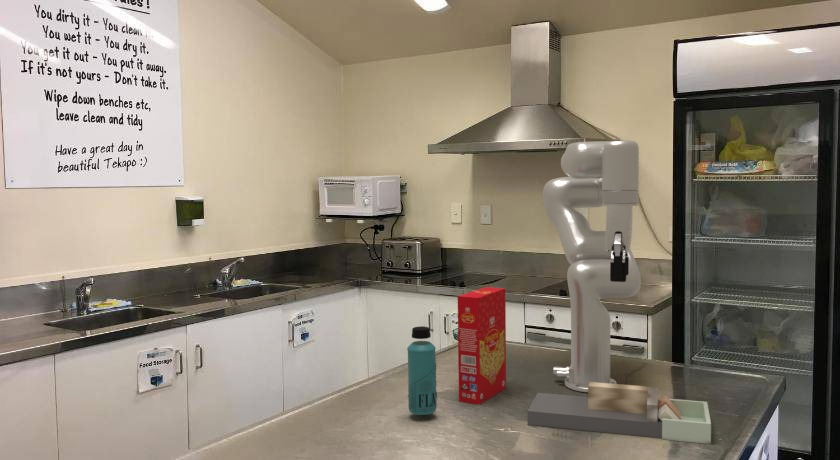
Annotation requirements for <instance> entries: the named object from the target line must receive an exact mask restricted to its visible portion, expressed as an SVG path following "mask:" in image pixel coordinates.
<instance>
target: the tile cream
mask: <svg viewBox="0 0 840 460" xmlns="http://www.w3.org/2000/svg"><path fill="white" fill-rule="evenodd" d="M658 418H659V419H660V420H661V421H662V418H665V419H676V420H680V419H679V418H678V417H677V416H676V415H675V414H674V413H673V411H672V410H671V409H670V408H669V407H668V406H667V405H666V404H665V405H664V406H662V407H661V408H660V409H658Z"/></svg>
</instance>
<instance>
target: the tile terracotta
mask: <svg viewBox="0 0 840 460" xmlns="http://www.w3.org/2000/svg"><path fill="white" fill-rule="evenodd" d="M669 399H670V398H669V397H668V396H667V395H664V396H662V397H661V398H659V399H658V408H659V409H660V408H661V407H662V406H664V405H665V404H666V405H667V406H668V407H669V408H670V409H671V410H672V411H673V413H674V414H675V415H676V416H677V417H678V418H679V419H681V416H680V411H679V410H678V409H677V408H676V406H675V405H674V404H673V403H672V402H671V401H670V400H669Z"/></svg>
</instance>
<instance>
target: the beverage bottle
mask: <svg viewBox="0 0 840 460" xmlns="http://www.w3.org/2000/svg"><path fill="white" fill-rule="evenodd" d="M431 336H432V334H431V328H430V327H428V326H423V325H422V326H414V327H413V328H412V330H411V338H413V339H416V341H412V343H410V344H409V345H408V347H407V376H408V377H407V379H408V381H407V387H408V391H407V403H408V405H407V406H408V411H409V413H410V414H413V415H419V416H424V415H426V416H427V415H431V414H434V413H435V412H436V411H437V405H438V403H437V402H438V395H437V394H438V393H437V386H438V384H437V359H436V357H437V356H436V346H435V345H434V344H433V343H432V342H431V341H428V340H427V339H429V338H431Z"/></svg>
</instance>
